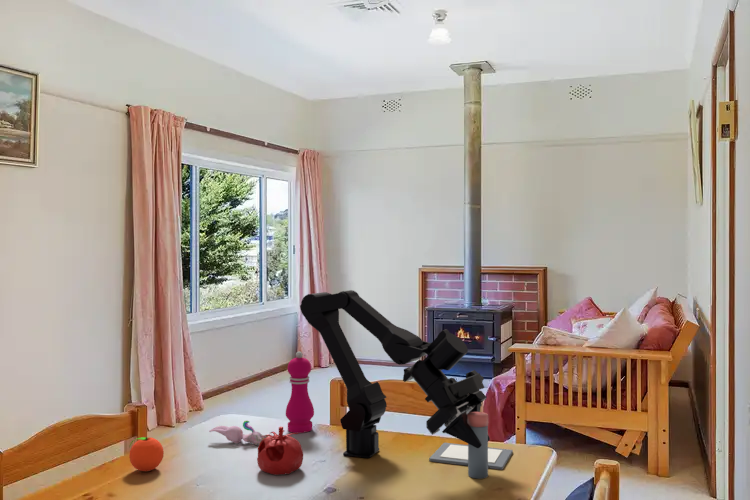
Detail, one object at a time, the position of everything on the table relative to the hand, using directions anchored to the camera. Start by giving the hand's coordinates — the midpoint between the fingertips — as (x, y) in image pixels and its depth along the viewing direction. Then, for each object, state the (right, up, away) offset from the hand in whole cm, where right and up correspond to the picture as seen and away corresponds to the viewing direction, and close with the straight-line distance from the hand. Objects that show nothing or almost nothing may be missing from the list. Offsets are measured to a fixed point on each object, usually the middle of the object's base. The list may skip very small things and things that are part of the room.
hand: (484, 444), depth 138 cm
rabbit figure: (-55, -7, +24) cm, 60 cm away
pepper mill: (-41, -6, +35) cm, 55 cm away
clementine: (-71, -7, +6) cm, 72 cm away
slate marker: (-1, -7, +1) cm, 7 cm away
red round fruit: (-42, -7, +5) cm, 43 cm away
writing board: (-1, -6, +13) cm, 14 cm away
